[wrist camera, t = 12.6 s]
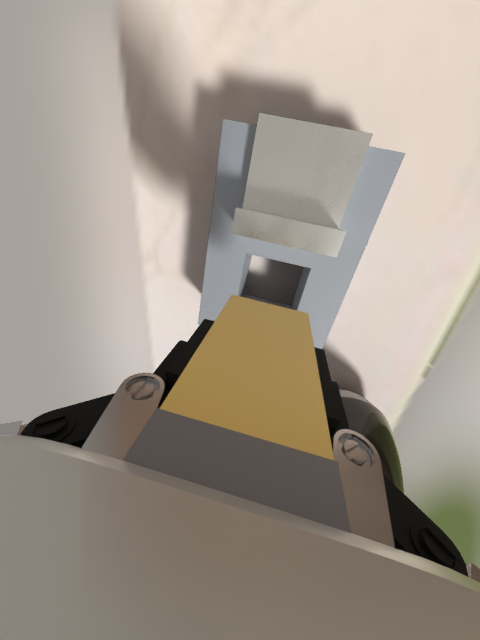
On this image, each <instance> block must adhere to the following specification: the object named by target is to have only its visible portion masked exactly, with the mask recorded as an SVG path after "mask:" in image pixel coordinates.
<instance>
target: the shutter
mask: <svg viewBox="0 0 480 640" xmlns="http://www.w3.org/2000/svg"><path fill="white" fill-rule="evenodd" d="M372 135H373V134H372V133H366V132H361V131H355V130H350V129H344V128H339V127H334V126H328V125H323V124H317V123H312V122H307V121H301V120H296V119H290V118H285V117H280V116H274V115H269V114H263V113H259V117H258V122H257V128H256V134H255V139H254V145H253V151H252V156H251V162H250V168H249V173H248V179H247V185H246V191H245V196H244V202H243V207H236V209H235V215H234V221H233V227H232V233H231V234H235V235H240V236H244V237H248V238H253V239H257V240H262V241H266V242H270V243H275V244H279V245H284V246H288V247H292V248H297V249H301V250H305V251H310V252H314V253H319V254H323V255H327V256H332V257H336V258H337V256H338V253H339V250H340V248H341V245H342V242H343V240H344V237H345V234H346V231H344V230H342V229H339V226H340V224H341V221H342V218H343V215H344V213H345V210H346V207H347V204H348V201H349V199H350V196H351V193H352V190H353V188H354V185H355V182H356V179H357V176H358V174H359V171H360V168H361V165H362V163H363V160H364V157H365V154H366V151H367V149H368V146H369V143H370V140H371V138H372Z"/></svg>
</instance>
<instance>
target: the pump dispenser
mask: <svg viewBox="0 0 480 640" xmlns="http://www.w3.org/2000/svg"><path fill="white" fill-rule="evenodd" d="M339 391H340V395H341V398H342V402H343V406H344V410H345V413H346V417H347V421H348V424H349V428H350V430H352V431H355V432H357V433H359V434H361V435H363V436H364V437H365V438H366V439H368V440H369V441H370V442H371V443H372V445H373V446H374V447H375V449H376V450H377V452H378V454H379V457H380V460H381V466H382V472H383V474H384V475H385V476H386V477H387V478H388V479H389V480H390V481H391V482H392V483H393V484H394V485H395V486H396V487H397V488H398V489H399V490H400V491H401V492H402V493H403V494H404V487H403V477H402V470H401V464H400V459H399V455H398V451H397V447H396V443H395V440H394V436H393V433H392V430H391V428H390V425H389V423H388V421H387V419H386V417H385V416H384V415H383V413H382V412H381V411H380V410H378V409H377V408H376V407H374V406H373V405H372V404H371V403H370V402H369V401H368V400H367V399H365V398H364V397H362V396H360V395H358V394H356V393H354V392H351V391H347V390H342V389H339Z"/></svg>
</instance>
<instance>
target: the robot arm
mask: <svg viewBox="0 0 480 640" xmlns="http://www.w3.org/2000/svg"><path fill="white" fill-rule="evenodd" d="M214 322H215V321H212V320H208V319H204V320H203V321H202V323H201V324H200V326H199V327H198V328H197V330H196V331H195V332H194V334H193V335H192V336H191V338H190V339H189V340H188V342H185V341H182V340H181V341H179V342H178V343H177V344H176V346H175V347H174V348H173V349H172V351H171V352H170V353H169V354H168V356H167V357H166V358H165V359H164V361H163V362H162V363H161V364H160V365H159V367H158V368H157V369H156V370H155V372H154V373H153V374H152V373H139V374H135V375H133V376H130V377H129V378H127V379H125V380H124V382H123V383H122V384H121V385H120V387H119V388H118V390H117V392H116V393H114V394H111V395H107V396H104V397H100V398H96V399H93V400H89V401H85V402H82V403H78V404H75V405H71V406H67V407H64V408H60V409H56V410H53V411H50V412H47V413H45V414H42V415H41V416H39V417H37V418H35V419H34V420H32V421H31V422H30V423H29V424H24V422H23V421H18V422H12V423H6V424H0V640H480V569H479V568H478V567H477V566H475V565H474V564H473V563H472V562H471V563H469V564H466V563H465V562H464V560H463V558H462V556H461V554H460V552H459V551H458V549H457V548H456V546H455V545H454V543H453V542H452V541H451V540H450V539H449V537H447V535H446V534H445V533H444V532H443V531H442V530H441V529H440V528H439V527H438V526H437V525H436V524H435V523H434V522H433V521H431V519H430V518H428V517H427V516H426V515H425V514H424V513H423V512H422V511H421V510H420V509H419V508H418V507H417V506H416V505H415V504H414V503H413V502H412V501H411V500H410V499H409V498H408V497H407V496H405V495H404V494H403V493H402V492H401V491H400V490H399V489H398V488H397V487H396V486H395V485H394V484H393V483H392V482H391V481H390V480H389V479H388V478H387V477H386V476H385V475H384V474H383V472H382V466H381V460H380V457H379V454H378V452H377V450H376V449H375V447H374V446H373V445H372V443H371V442H370V441H369V440H368V439H366V438H365V437H364V436H363V435H361V434H359V433H357V432H355V431H352V430H350V428H349V424H348V421H347V417H346V413H345V410H344V406H343V402H342V398H341V395H340V391H339V387H338V384H337V383H336V382H334V381H331V377H330V373H329V369H328V365H327V360H326V356H325V352H324V350H323V349H320V348H316V347H314V348H315V354H316V360H317V365H318V371H319V377H320V382H321V388H322V394H323V399H324V405H325V411H326V416H327V422H328V428H329V433H330V439H331V445H332V450H333V456H334V461H338V465H339V470H340V476H341V481H342V486H343V492H344V497H345V502H346V507H347V513H348V518H349V523H350V529H351V533H349V532H346V531H343V530H340V529H337V528H333V527H330V526H327V525H324V524H321V523H318V522H315V521H312V520H309V519H306V518H303V517H300V516H296V515H293V514H290V513H287V512H284V511H281V510H278V509H275V508H272V507H269V506H265V505H262V504H259V503H256V502H253V501H250V500H247V499H243V498H240V497H237V496H234V495H231V494H228V493H225V492H221V491H218V490H215V489H212V488H209V487H206V486H203V485H199V484H196V483H193V482H190V481H187V480H184V479H180V478H177V477H174V476H171V475H168V474H164V473H161V472H158V471H155V470H152V469H148V468H145V467H142V466H139V465H135V464H132V463H129V462H126V461H123V458H124V457H125V455H126V454H127V452H128V451H129V449H130V448H131V446H132V445H133V443H134V442H135V440H136V438H137V437H138V435H139V434H140V432H141V431H142V429H143V428H144V426H145V425H146V423H147V422H148V420H149V419H150V417H151V415H152V414H153V412H154V411H155V409H156V408H160V407H161V405H162V404H163V402H164V401H165V399H166V397H167V396H168V394H169V393H170V391H171V390H172V388H173V386H174V385H175V383H176V382H177V380H178V378H179V377H180V375H181V374H182V372H183V371H184V369H185V367H186V366H187V364H188V363H189V361H190V360H191V358H192V356H193V355H194V353H195V352H196V350H197V349H198V347H199V345H200V344H201V342H202V341H203V339H204V338H205V336H206V334H207V333H208V331H209V330H210V328H211V327H212V325H213V323H214Z"/></svg>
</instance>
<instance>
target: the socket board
mask: <svg viewBox="0 0 480 640" xmlns="http://www.w3.org/2000/svg"><path fill="white" fill-rule="evenodd" d="M256 128H257V125H253V124H248V123H243V122H238V121H232V120H227V119H223V123H222V132H221V140H220V148H219V156H218V164H217V173H216V181H215V189H214V197H213V205H212V213H211V222H210V230H209V238H208V246H207V254H206V263H205V271H204V279H203V287H202V295H201V304H200V312H199V320H198V324H201V323H202V321H203V320H204V319H208V320H212V321H215V320H216V319H217V317H218V316H219V314H220V312H221V311H222V309H223V308H224V306H225V305H226V303H227V301H228V300H229V298H230V297H231V295H232V294H233V295H237V296H241V297H245V298H249V299H253V300H257V301H261V302H265V303H269V304H273V305H277V306H281V307H285V308H289V309H293V310H297V311H301V312H305V313H308V314H309V320H310V326H311V331H312V337H313V343H314V347H316V348H320V349H323V346H324V344H325V341H326V339H327V337H328V334H329V332H330V330H331V327H332V325H333V323H334V320H335V318H336V316H337V313H338V311H339V308H340V306H341V304H342V301H343V299H344V297H345V294H346V292H347V290H348V287H349V285H350V283H351V280H352V278H353V275H354V273H355V271H356V268H357V266H358V264H359V261H360V259H361V257H362V254H363V252H364V250H365V247H366V245H367V242H368V240H369V238H370V235H371V233H372V231H373V228H374V226H375V224H376V221H377V219H378V217H379V214H380V212H381V209H382V207H383V205H384V202H385V200H386V198H387V195H388V193H389V191H390V188H391V186H392V184H393V181H394V179H395V176H396V174H397V172H398V169H399V167H400V165H401V162H402V160H403V158H404V155H405V153H402V152H396V151H391V150H386V149H380V148H375V147H370V146H368V149H367V151H366V154H365V157H364V160H363V163H362V165H361V168H360V171H359V174H358V176H357V179H356V182H355V185H354V188H353V190H352V193H351V196H350V199H349V201H348V204H347V207H346V210H345V213H344V215H343V218H342V221H341V224H340V226H339V229H342V230H344V231H346V234H345V237H344V240H343V242H342V245H341V248H340V250H339V253H338V256H337V258H336V257H332V256H327V255H323V254H319V253H314V252H310V251H305V250H301V249H297V248H292V247H288V246H284V245H279V244H275V243H270V242H266V241H262V240H257V239H253V238H248V237H244V236H240V235H235V234H231V233H232V227H233V221H234V215H235V209H236V207H243V202H244V196H245V191H246V185H247V179H248V173H249V168H250V162H251V156H252V151H253V145H254V139H255V134H256ZM252 255H256V256H260V257H264V258H269V259H273V260H277V261H281V262H286V263H290V264H294V265H299V266H303V270H302V274H301V277H300V280H299V283H298V286H297V289H296V292H295V296H294V299H293V302H292V305H287V304H283V303H279V302H275V301H271V300H267V299H263V298H259V297H255V296H251V295H247V294H244V290H245V285H246V280H247V275H248V271H249V266H250V261H251V256H252Z"/></svg>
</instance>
